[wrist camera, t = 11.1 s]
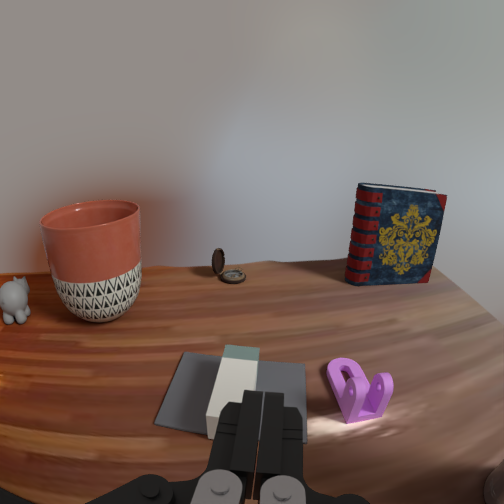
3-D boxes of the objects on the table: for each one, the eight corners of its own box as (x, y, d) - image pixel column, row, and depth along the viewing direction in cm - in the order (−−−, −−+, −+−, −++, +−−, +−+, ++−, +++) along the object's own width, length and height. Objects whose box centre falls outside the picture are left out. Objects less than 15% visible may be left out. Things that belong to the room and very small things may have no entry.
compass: (241, 286, 75) (242, 257, 72) (210, 280, 77) (210, 252, 75) (251, 272, 82) (253, 246, 80) (223, 267, 84) (223, 241, 82)
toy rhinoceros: (43, 299, 63) (35, 266, 60) (26, 327, 52) (14, 291, 49) (20, 299, 61) (11, 267, 58) (0, 326, 51) (-12, 291, 47)
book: (349, 287, 76) (364, 186, 67) (340, 274, 83) (352, 181, 73) (429, 283, 79) (448, 195, 69) (417, 272, 85) (433, 189, 76)
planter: (109, 354, 49) (85, 235, 41) (44, 322, 55) (21, 222, 47) (167, 303, 66) (160, 203, 58) (102, 284, 72) (90, 197, 64)
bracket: (381, 417, 39) (396, 384, 36) (346, 424, 38) (358, 391, 36) (352, 362, 51) (361, 329, 48) (322, 365, 50) (329, 332, 48)
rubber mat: (304, 365, 50) (304, 363, 50) (306, 443, 35) (307, 442, 35) (184, 353, 52) (184, 351, 51) (154, 424, 37) (154, 423, 37)
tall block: (247, 443, 35) (257, 372, 48) (248, 420, 33) (259, 347, 46) (208, 438, 35) (226, 368, 48) (205, 415, 33) (225, 344, 46)
